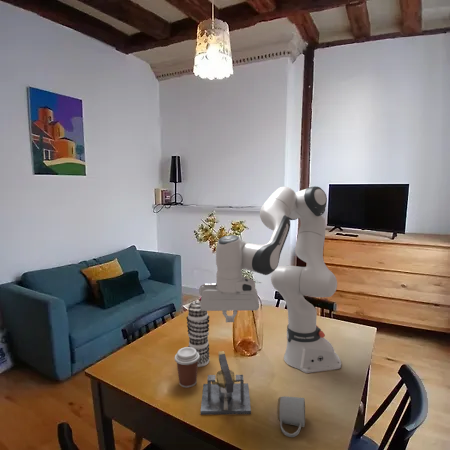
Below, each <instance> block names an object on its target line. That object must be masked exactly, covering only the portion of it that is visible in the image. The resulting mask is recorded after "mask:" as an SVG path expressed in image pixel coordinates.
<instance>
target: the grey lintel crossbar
mask: <svg viewBox="0 0 450 450" xmlns="http://www.w3.org/2000/svg"><path fill="white" fill-rule="evenodd" d="M218 364H219V367H220V369H219V371H217V373H216V378H215V382H211V384H212V385H214V384H217V385H218V386H219V387H222V388H226V391H227V393H231V392H233V385H234V384H235V383H240V381H236V376H235V373H234V371H233V370H230V367H229V363H228V359H227V357H226V353H225V351H224V350H222V351H219V350H218Z"/></svg>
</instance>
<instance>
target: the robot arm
mask: <svg viewBox="0 0 450 450" xmlns="http://www.w3.org/2000/svg"><path fill="white" fill-rule="evenodd" d="M327 198H328V197H327V194H326V192H325V191H324V190H323V189H322V187H320V186H316V185H315V186H309V187H306V188H305V189H301V190H298V191H296V192H295V190H293V189H292V188H291V187H288V186H280V187H277V189H275V190H274V191H273V192H272V193H271V195H269V197H268V198H267V199H266V200H265V202H264V203H263V204H262V206H261V207H260V210H259V218H260V220H261V222H262V223H263V225H264V226H265V227H266V228H268V229H269V230H271V231H273V232H272V233H271V236H270V238H269V241H268V242H267V243H264V244H261V243H260V244H259V243H254V242H253V243H252V242H247V241H244V240H242V239H241V238H240V237H239V236H237V235H231V234H230V235H225V236H221V237H220V238H219V239H218V241H217V243H216V249H215V265H216V267H217V269H216V270H217V271H216V276H215V279H216V283H203V284H202V285H200V286H199V289H198V290H199V293H198V294H199V295H200V301H201V305H200V308H201V309H202V310H203V311H207V312H209V311H210V312H211V311H214V312H216V311H218V312H219V311H221V312H222V316H223V317H224V319H225V323H235V317H236V316H237V314H238V311H258V310H259V309H260V301H259V295H258V291H257V289H256V283H255V280H254V279H251V278H249V277H245V276H243V272H242V270H246V271H250V272H255V273H258V274H260V275H264V276H268V275H270V274H271V275H270V281H271V284H272V287H273V288H274V289H275V290H276V291H277V292H278V293H279V294H280V296H282V298H283V300H284V302H285V306H286V308H287V316H288V317H287V326H286V347H285V353H284V355H283V360H284V362H285V363H286V364H287V365H288V366H291V367H292V368H295V369H297V370H299V371H302V372H303V373H305V374H308V373H318V372H325V371H333V370H339V369H341V367H342V361H341V358H340V357H339V355H338V354H337V353H336V352H335V349H334V346H333V344H332V343H331V342H330V341H329V340H328V339H326V338H325V337H326V335H325V333H324V331H322V329H321V328H320V327H319V326H318V325H317V309H316V307H315V306H314V305H313V304H312V303H310V302H309V301H308V300H307V299H305V297H307V296H308V297H313V298H330V297H333V296H334V294H335V293H336V292H337V288H338V280H337V277H336V275H335V274H334V273H333V271H331V270H330V269H329V268H328V266H327V265H326V263H325V261H324V245H325V239H326V220H325V218H324V217H323V215H324V213H325V211H326V207H327V201H328V199H327ZM297 219H299V221H300V226H299V229H298V232H297V238H296V242H295V247H294V253H295V255H296V257H297V258H298V259H300V260H301V261H303V262H304V263H306V266H297V265H290V264H289V265H279V264H280V258H281V257H280V256H281V254H282V251H283V249H284V246H285V243H286V240H287V238H288V235H289V232H290V228H291V221H296V220H297ZM304 296H305V297H304ZM227 311H233V312H232V315H228V314H227V313H228V312H227Z"/></svg>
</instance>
